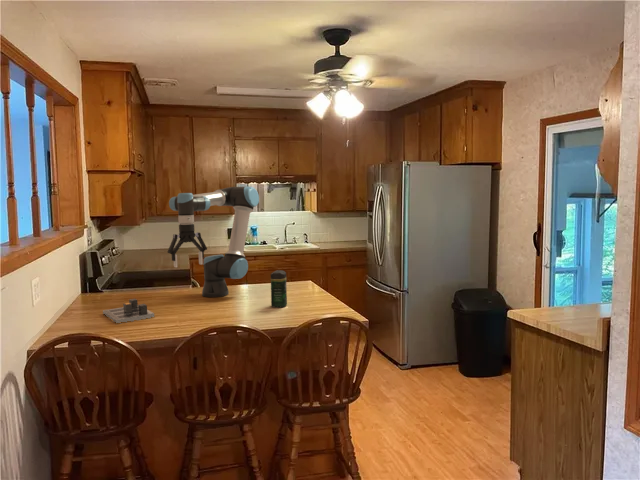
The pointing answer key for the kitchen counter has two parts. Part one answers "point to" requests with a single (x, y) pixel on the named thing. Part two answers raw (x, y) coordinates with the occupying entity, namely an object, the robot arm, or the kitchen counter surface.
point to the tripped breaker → (127, 307)
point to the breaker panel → (136, 314)
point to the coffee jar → (278, 289)
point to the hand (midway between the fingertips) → (188, 265)
